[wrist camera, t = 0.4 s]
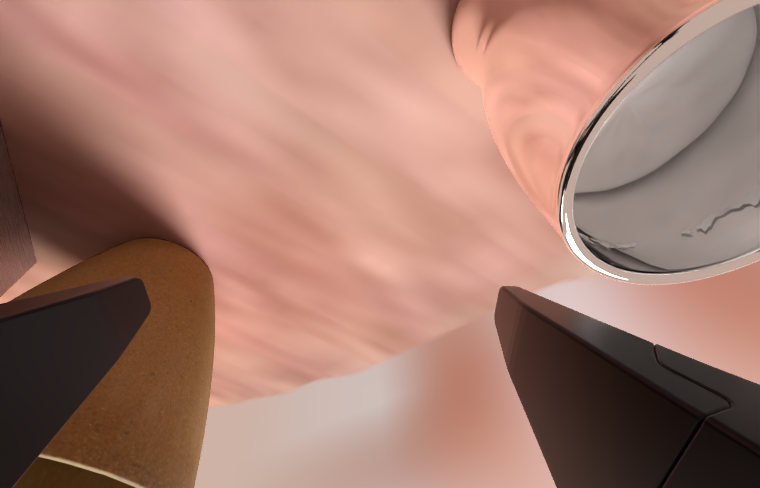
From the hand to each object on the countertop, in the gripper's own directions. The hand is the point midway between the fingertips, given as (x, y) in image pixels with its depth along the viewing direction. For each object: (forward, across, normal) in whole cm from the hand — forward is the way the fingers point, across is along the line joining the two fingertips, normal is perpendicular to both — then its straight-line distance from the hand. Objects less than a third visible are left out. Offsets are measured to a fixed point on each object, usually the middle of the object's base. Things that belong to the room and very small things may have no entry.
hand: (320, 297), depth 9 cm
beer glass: (+14, +8, +7) cm, 18 cm away
